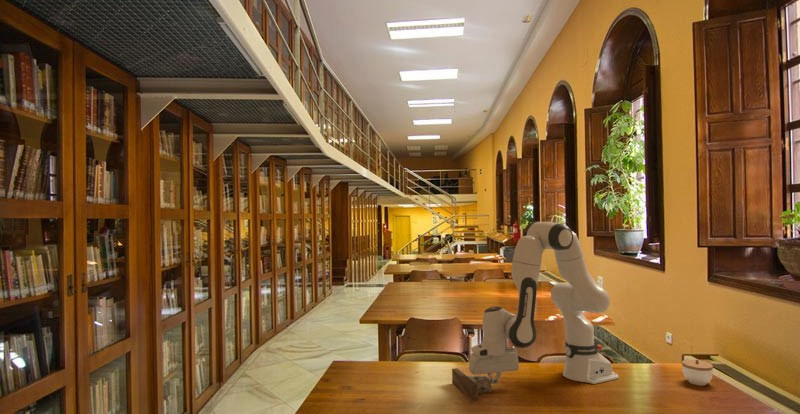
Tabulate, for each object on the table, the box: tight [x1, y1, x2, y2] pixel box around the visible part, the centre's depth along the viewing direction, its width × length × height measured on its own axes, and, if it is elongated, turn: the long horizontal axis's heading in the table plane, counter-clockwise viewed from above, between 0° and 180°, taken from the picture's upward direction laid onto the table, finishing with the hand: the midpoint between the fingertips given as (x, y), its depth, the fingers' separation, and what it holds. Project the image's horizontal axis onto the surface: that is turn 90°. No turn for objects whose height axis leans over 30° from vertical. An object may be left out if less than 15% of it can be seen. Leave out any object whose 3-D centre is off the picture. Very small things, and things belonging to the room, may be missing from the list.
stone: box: [466, 375, 492, 394], centre depth 185 cm, size 13×6×10 cm
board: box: [451, 368, 479, 403], centre depth 182 cm, size 2×20×6 cm, turn 14°
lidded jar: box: [681, 358, 714, 386], centre depth 190 cm, size 11×11×9 cm
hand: (494, 383), depth 185 cm, fingers closed
